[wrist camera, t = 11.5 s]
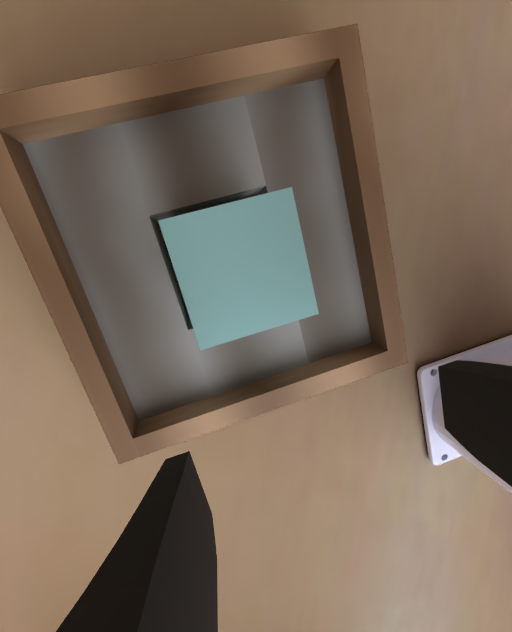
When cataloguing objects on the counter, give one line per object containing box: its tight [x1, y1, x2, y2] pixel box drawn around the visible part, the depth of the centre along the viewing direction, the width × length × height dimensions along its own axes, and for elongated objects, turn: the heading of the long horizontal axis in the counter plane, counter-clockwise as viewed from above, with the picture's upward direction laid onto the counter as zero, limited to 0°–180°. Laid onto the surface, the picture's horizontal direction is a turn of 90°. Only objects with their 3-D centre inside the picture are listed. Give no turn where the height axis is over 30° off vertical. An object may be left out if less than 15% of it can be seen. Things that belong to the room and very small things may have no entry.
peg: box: [158, 187, 319, 350], centre depth 13 cm, size 4×4×8 cm
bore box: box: [0, 24, 408, 464], centre depth 15 cm, size 15×15×4 cm
